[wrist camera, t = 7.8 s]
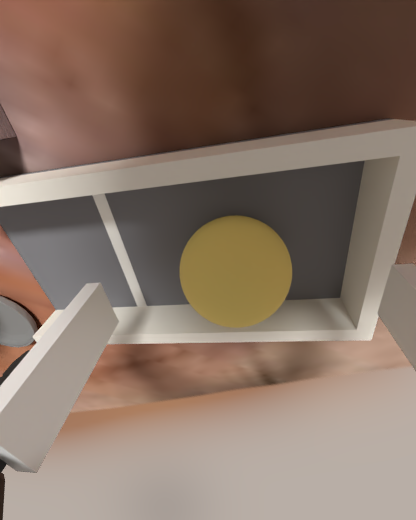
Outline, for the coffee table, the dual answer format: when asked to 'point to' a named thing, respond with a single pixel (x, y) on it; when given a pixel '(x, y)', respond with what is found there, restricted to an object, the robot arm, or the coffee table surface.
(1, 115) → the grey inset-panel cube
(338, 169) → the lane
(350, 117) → the coffee table surface
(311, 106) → the coffee table surface
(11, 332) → the pocket watch
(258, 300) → the ball
